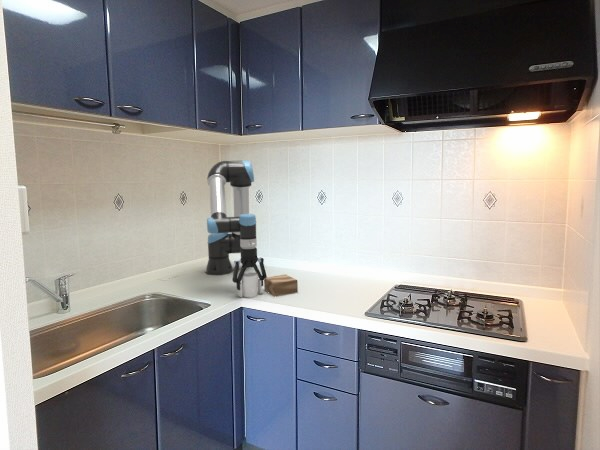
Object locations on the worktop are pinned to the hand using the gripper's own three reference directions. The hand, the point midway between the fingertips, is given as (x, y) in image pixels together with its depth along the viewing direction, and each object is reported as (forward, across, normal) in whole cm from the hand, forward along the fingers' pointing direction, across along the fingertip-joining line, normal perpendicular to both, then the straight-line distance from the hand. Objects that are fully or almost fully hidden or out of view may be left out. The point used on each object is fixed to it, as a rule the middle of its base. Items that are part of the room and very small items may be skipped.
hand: (250, 294), depth 181 cm
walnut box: (0, +15, -2) cm, 15 cm away
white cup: (+1, 0, 0) cm, 1 cm away
